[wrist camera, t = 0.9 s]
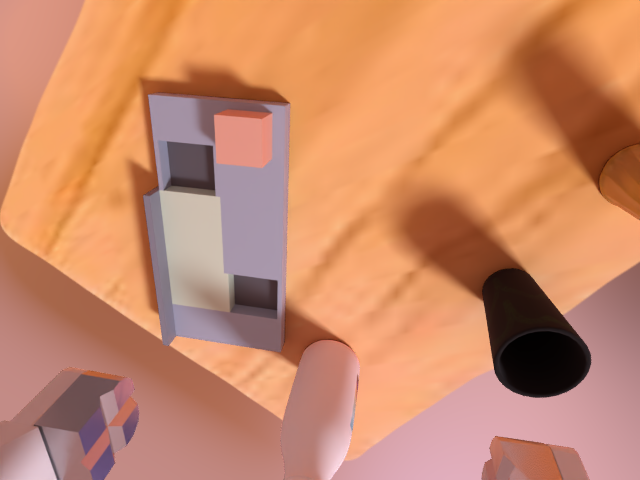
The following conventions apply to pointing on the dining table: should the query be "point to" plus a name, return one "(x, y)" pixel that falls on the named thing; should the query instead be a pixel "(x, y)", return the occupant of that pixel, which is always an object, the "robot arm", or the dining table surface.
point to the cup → (531, 338)
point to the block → (243, 138)
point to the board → (217, 226)
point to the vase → (623, 180)
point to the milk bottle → (320, 412)
